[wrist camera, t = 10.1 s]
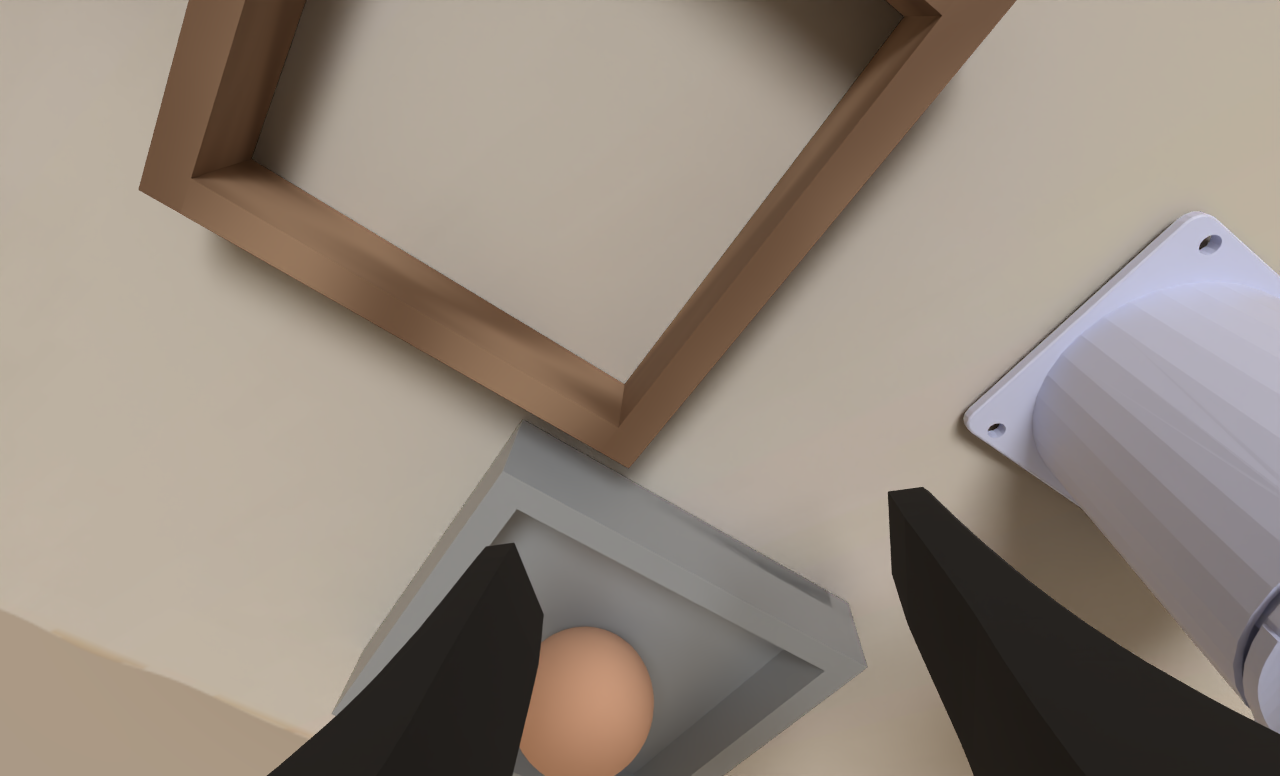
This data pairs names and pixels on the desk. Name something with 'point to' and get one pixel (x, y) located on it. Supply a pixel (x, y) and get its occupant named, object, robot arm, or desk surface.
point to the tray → (644, 604)
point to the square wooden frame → (462, 321)
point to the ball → (587, 705)
